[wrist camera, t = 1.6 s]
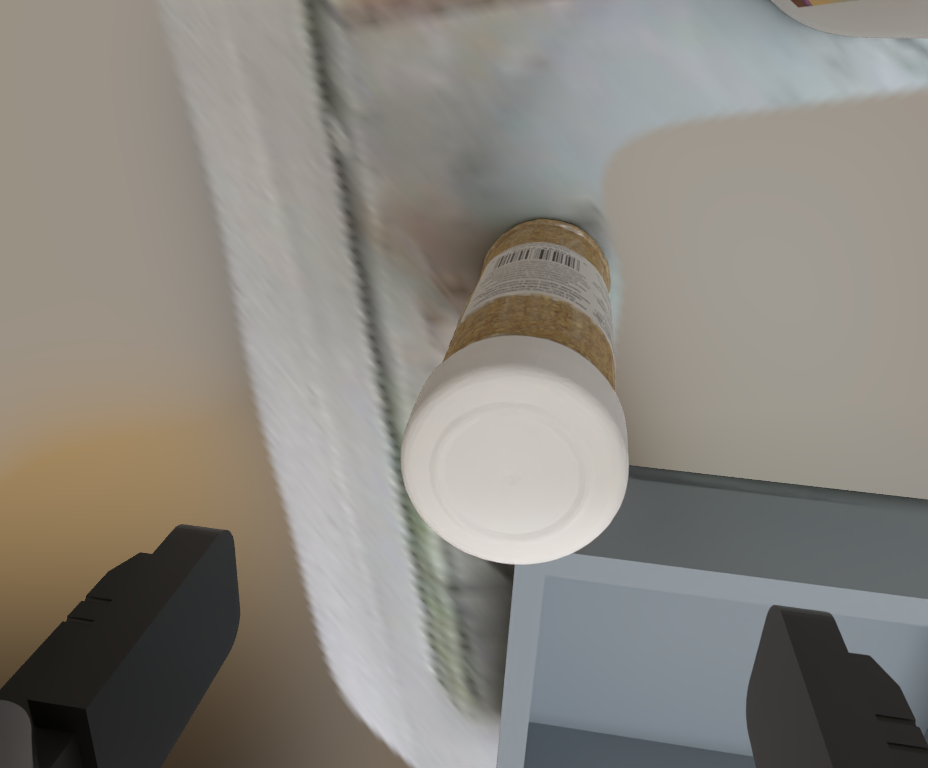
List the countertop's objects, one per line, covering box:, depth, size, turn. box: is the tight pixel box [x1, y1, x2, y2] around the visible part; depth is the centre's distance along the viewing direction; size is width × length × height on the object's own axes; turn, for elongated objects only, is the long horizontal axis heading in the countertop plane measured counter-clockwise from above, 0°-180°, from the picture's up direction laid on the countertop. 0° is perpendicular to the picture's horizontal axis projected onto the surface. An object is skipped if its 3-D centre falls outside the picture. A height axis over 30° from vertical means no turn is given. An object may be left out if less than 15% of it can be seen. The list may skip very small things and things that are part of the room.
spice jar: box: [401, 219, 629, 565], centre depth 21 cm, size 5×5×14 cm
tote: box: [496, 465, 928, 768], centre depth 29 cm, size 14×18×6 cm
